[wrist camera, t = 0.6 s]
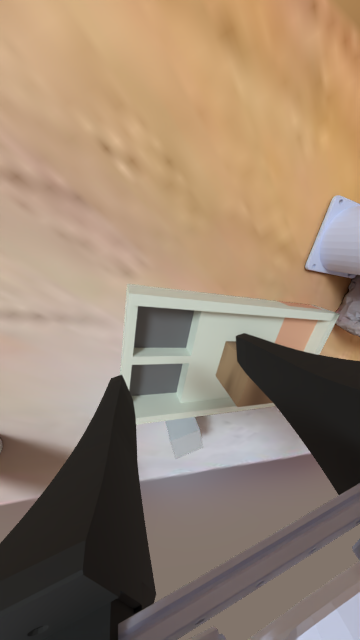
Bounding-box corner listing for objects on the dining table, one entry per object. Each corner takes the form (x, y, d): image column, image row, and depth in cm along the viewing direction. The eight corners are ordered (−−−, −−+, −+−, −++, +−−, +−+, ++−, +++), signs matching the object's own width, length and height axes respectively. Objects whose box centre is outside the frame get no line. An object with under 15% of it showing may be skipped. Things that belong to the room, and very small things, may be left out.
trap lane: (314, 305, 27) (339, 314, 24) (276, 387, 32) (293, 403, 29) (127, 283, 18) (128, 293, 15) (117, 402, 23) (117, 427, 20)
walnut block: (259, 341, 24) (291, 365, 19) (247, 374, 25) (274, 402, 21) (225, 341, 22) (252, 367, 17) (215, 375, 24) (237, 407, 19)
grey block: (189, 404, 27) (199, 429, 24) (193, 422, 29) (203, 447, 26) (163, 414, 27) (170, 441, 23) (168, 431, 28) (175, 459, 25)
